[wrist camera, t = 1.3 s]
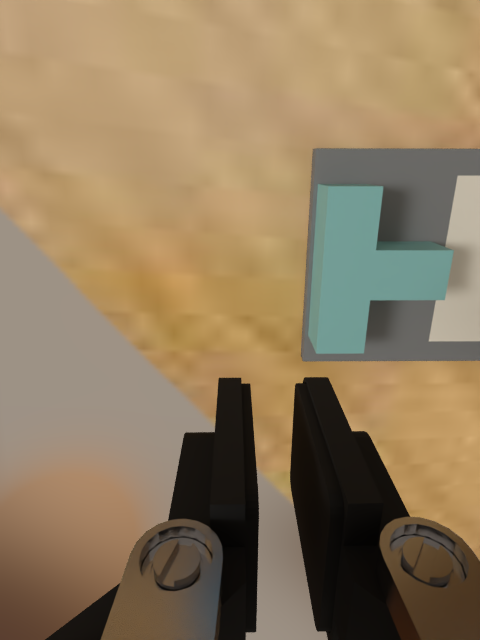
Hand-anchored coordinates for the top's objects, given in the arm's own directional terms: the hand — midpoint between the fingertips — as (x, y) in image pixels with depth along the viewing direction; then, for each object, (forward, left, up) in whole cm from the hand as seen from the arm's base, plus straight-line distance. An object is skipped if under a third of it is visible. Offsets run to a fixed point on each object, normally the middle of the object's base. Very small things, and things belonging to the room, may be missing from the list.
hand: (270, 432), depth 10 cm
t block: (0, -8, -18) cm, 20 cm away
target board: (0, -13, -19) cm, 23 cm away
